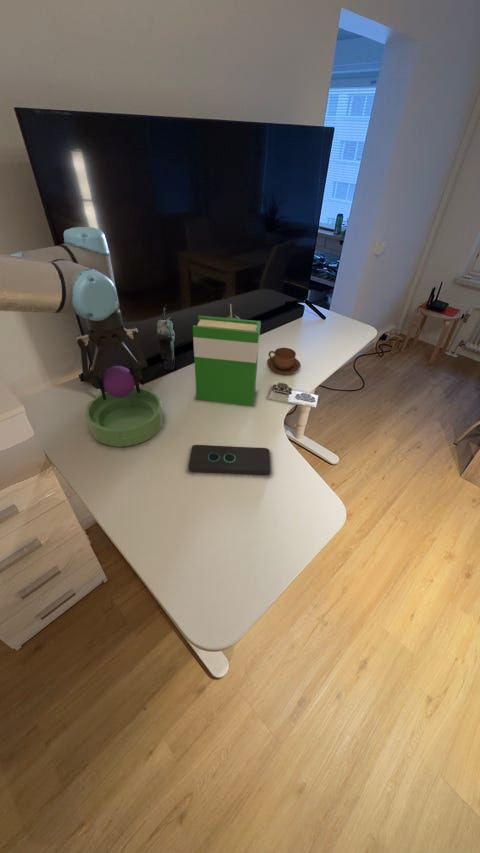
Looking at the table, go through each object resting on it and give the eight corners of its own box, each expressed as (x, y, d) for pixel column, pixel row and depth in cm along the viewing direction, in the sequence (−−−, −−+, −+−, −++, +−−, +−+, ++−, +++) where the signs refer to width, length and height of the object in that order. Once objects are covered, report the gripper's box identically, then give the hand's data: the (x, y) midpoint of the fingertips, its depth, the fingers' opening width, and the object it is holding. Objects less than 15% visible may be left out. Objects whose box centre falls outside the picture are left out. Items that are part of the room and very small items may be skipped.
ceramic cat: (176, 372, 118) (170, 316, 105) (157, 372, 117) (149, 316, 104) (180, 345, 133) (176, 293, 120) (163, 344, 132) (157, 292, 119)
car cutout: (268, 398, 108) (269, 386, 106) (272, 387, 113) (274, 375, 110) (315, 408, 106) (318, 396, 103) (318, 396, 111) (320, 384, 108)
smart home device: (192, 443, 89) (269, 447, 89) (192, 448, 90) (268, 452, 90) (188, 467, 83) (270, 471, 83) (188, 472, 84) (269, 476, 84)
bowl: (75, 435, 92) (69, 418, 88) (120, 396, 106) (116, 380, 102) (137, 456, 87) (134, 439, 83) (175, 412, 101) (174, 396, 97)
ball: (99, 399, 88) (91, 372, 83) (118, 383, 94) (112, 357, 89) (125, 406, 86) (119, 380, 81) (143, 390, 92) (138, 364, 87)
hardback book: (196, 399, 107) (192, 326, 91) (201, 386, 112) (198, 315, 96) (252, 405, 105) (258, 332, 90) (255, 391, 111) (260, 321, 95)
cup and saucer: (264, 374, 119) (265, 358, 115) (268, 357, 128) (270, 342, 124) (298, 379, 118) (301, 363, 114) (300, 361, 127) (303, 346, 123)
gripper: (145, 297, 81) (157, 378, 96) (49, 308, 74) (78, 394, 89) (153, 309, 76) (164, 393, 91) (50, 322, 69) (80, 410, 84)
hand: (121, 393), depth 90 cm, fingers closed on ball, 8 cm apart
